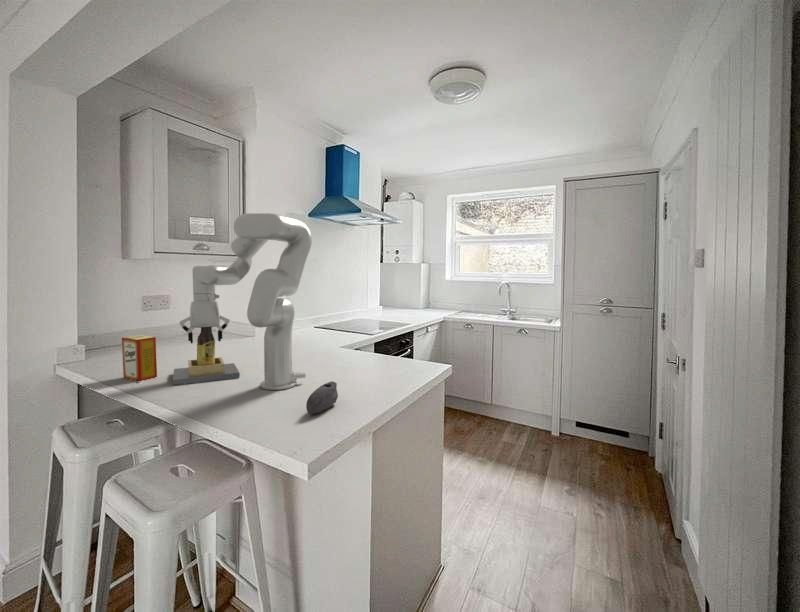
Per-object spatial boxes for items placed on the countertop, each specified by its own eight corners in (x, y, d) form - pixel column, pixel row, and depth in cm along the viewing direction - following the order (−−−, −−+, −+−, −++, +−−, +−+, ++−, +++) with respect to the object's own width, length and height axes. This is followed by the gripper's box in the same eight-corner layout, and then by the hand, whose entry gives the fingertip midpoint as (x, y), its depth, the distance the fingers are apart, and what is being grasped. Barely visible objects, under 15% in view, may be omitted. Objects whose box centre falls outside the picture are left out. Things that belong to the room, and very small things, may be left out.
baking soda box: (157, 377, 144) (155, 336, 143) (139, 381, 138) (137, 338, 137) (141, 374, 148) (139, 334, 147) (123, 378, 142) (121, 336, 141)
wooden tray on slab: (234, 367, 160) (233, 355, 160) (239, 377, 145) (239, 363, 144) (174, 373, 149) (173, 360, 149) (173, 385, 134) (172, 370, 133)
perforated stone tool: (314, 419, 104) (314, 395, 103) (299, 417, 106) (298, 392, 105) (342, 403, 118) (342, 381, 117) (327, 401, 120) (327, 379, 119)
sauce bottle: (207, 373, 143) (206, 321, 142) (192, 372, 144) (192, 320, 143) (218, 369, 149) (218, 319, 148) (205, 368, 150) (204, 319, 149)
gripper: (227, 297, 152) (229, 338, 153) (178, 298, 144) (180, 342, 145) (229, 298, 146) (231, 341, 147) (178, 299, 137) (179, 345, 138)
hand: (205, 341), depth 146 cm, fingers open, 9 cm apart
